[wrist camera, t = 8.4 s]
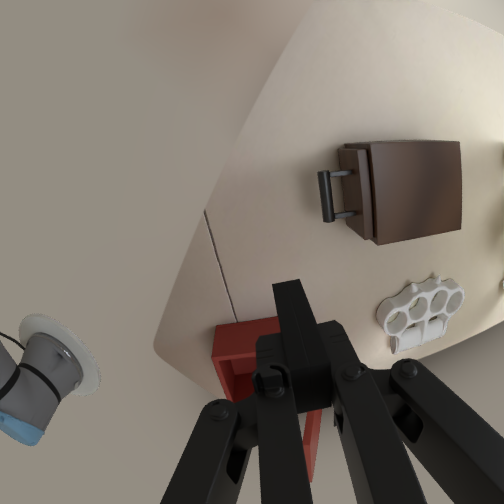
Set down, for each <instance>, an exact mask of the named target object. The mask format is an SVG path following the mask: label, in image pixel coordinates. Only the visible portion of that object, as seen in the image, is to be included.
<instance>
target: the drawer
mask: <svg viewBox="0 0 504 504" xmlns="http://www.w3.org/2000/svg"><path fill="white" fill-rule="evenodd" d="M338 153H339V160H340V168H341V170H339V171H331V172H329V170H323V171H318V172H317V175H318V182H319V190H320V198H321V206H322V215H323V222H326V223H329V222H333V221H335V219H338V218H344V217H346V225H347V226H349V227H350V228H351V229H352V230H353V231H355V232H356V233H357V234H358V235H359V236H361V237H362V238H363V239H364V240H368V239H373V224H374V207H373V193H372V181H371V171H370V162H369V154H368V152H367V151H366V149H357V148H343V149H338ZM337 176H342V184H343V194H344V204H345V212H338V213H334V208H333V198H332V190H331V181H330V177H337Z"/></svg>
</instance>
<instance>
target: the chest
mask: <svg viewBox="0 0 504 504" xmlns="http://www.w3.org/2000/svg"><path fill="white" fill-rule="evenodd" d="M278 332H281V331H280V326H279V320H278V316H277V317H271V318H264V319H258V320H252V321H245V322H238V323H231V324H224V325H217V326H216V331H215V337H214V343H213V350H212V356H211V358H212V361H213V363H214V366H215V369H216V372H217V374H218V377H219V380H220V382H221V385H222V387H223V390H224V393H225V395H226V398H227V400H230V401H232V402H233V403H235V402H238V401H241V400H243V399H245V398H247V397H249V396H250V395H251V394H252V393H253V392H254V391H255V390H254V386H253V383H252V380H251V377H252V373H253V372H254V371H255V370H256V368H257V367H256V348H255V343H256V341H257V339H258V337H259V336H261V335H267V334H273V333H278Z"/></svg>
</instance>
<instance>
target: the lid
mask: <svg viewBox="0 0 504 504" xmlns="http://www.w3.org/2000/svg"><path fill="white" fill-rule="evenodd" d="M321 414H322V409H319V410H314V411H310V412H307V417H306V424H305V430H304V436H303V441H302V442H303V448H304V453H305V459H306V465H307V471H308V476H309V482H312V478H313V473H314V466H315V460H316V454H317V446H318V439H319V432H320V423H321Z"/></svg>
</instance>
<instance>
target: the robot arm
mask: <svg viewBox="0 0 504 504" xmlns="http://www.w3.org/2000/svg"><path fill="white" fill-rule="evenodd" d="M272 287H273V293H274V298H275V304H276V309H277V315H278V320H279V326H280V331H281V332H278V333H273V334H267V335H261V336H259V337H258V339H257V341H256V343H255V348H256V367H257V368H256V370H255V371H254V372H253V373H252V377H251V380H252V383H253V386H254V390H255V391H254V392H253V393H252V394H251V395H250V396H249V397H247V398H245V399H243V400H241V401H238V402H235V403H233V402H232V401H230V400H226V399H217V400H214V401H211V402H210V403H208V404H207V405H205V407H204V408H203V410H202V411H201V413H200V416H199V418H198V420H197V423H196V425H195V427H194V430H193V432H192V434H191V436H190V439H189V441H188V443H187V446H186V448H185V450H184V452H183V454H182V456H181V459H180V461H179V463H178V465H177V468H176V470H175V472H174V474H173V476H172V478H171V481H170V483H169V485H168V487H167V490H166V492H165V494H164V496H163V498H162V500H161V503H160V504H236V502H237V499H238V495H239V492H240V489H241V486H242V482H243V479H244V475H245V471H246V468H247V465H248V461H249V457H250V454H251V450H252V448H253V447H255V446H257V445H258V447H259V448H258V449H259V468H260V487H261V504H313V501H312V494H311V488H310V482H309V476H308V471H307V465H306V459H305V453H304V448H303V442H302V437H301V431H300V425H299V420H298V415H297V414H299V413H304V412H310V411H314V410H319V409H323V408H328V407H331V406H332V404H333V407H334V426H337V429H338V432H339V436H340V440H341V443H342V446H343V450H344V454H345V458H346V461H347V465H348V469H349V473H350V477H351V480H352V484H353V488H354V492H355V496H356V500H357V504H427V502H426V499H425V496H424V494H423V491H422V488H421V486H420V483H419V481H418V478H417V476H416V473H415V471H414V468H413V466H412V463H411V461H410V458H409V456H408V454H407V451H406V449H405V446H404V444H403V442H404V443H405V445H406V446H407V447H408V448H409V449H410V451H411V452H412V453H413V454H414V455H415V457H416V458H417V459H418V460H419V461H420V463H421V464H422V465H423V466H424V468H425V469H426V470H427V471H428V472H429V473H430V475H431V476H432V477H433V478H434V480H435V481H436V482H437V483H438V484H439V486H440V487H441V488H442V489H443V490H444V492H445V493H446V494H447V495H448V496H449V497H450V499H451V500H452V501H453V502H454V504H504V438H503V437H502V436H500V435H499V433H498V432H496V431H495V430H494V429H493V428H492V427H491V426H490V425H489V424H488V423H487V422H486V421H485V420H484V419H483V418H482V417H480V416H479V415H478V414H477V413H476V412H475V411H474V410H473V409H472V408H471V407H470V406H468V405H467V404H466V403H465V402H464V401H463V400H462V399H461V398H459V396H457V395H456V394H455V393H454V392H453V391H452V390H451V389H450V388H449V387H447V386H446V385H445V384H444V383H443V382H442V381H441V380H440V379H438V378H437V377H436V376H435V375H434V374H433V373H431V372H430V371H429V370H428V369H427V368H426V367H425V366H423V365H422V364H421V363H420V362H418V361H417V360H414V359H410V358H408V359H401V360H399V361H397V362H396V363H394V364H393V366H392V368H391V369H385V370H374V369H370V368H368V367H367V366H366V365H365V364H363V363H361V362H360V360H359V358H358V356H357V354H356V352H355V350H354V348H353V346H352V344H351V342H350V340H349V338H348V336H347V334H346V332H345V330H344V328H343V326H342V325H341V324H340V323H338V322H337V321H335V320H333V321H328V322H324V323H319V324H317V323H316V320H315V317H314V315H313V312H312V310H311V307H310V304H309V302H308V299H307V297H306V294H305V292H304V289H303V287H302V284H301V282H300V279H296V280H291V281H286V282H281V283H276V284H272ZM0 335H1V336H3V337H6V338H7V339H9V340H11V341H13V342H15V343H16V344H18V346H19V347H21V348H22V349H23V350H24V353H23V357H22V359H21V362H20V363H19V365H18V366H17V364H16V363H15V361H14V360H13V359H12V357H11V356H10V354H9V353H8V352H7V350H6V349H5V348H4V346H3V344H2V343H1V341H0V429H1V430H2V431H3V432H4V433H6V434H7V435H9V436H10V437H12V438H13V439H15V440H17V441H18V442H20V443H22V444H25V445H28V446H34V445H36V444H37V443H38V441H39V440H40V438H41V437H42V435H43V434H44V431H45V430H46V428H47V426H48V424H49V422H50V420H51V418H52V416H53V414H54V413H55V411H56V409H57V407H58V405H59V403H60V402H61V400H62V399H63V398H64V397H65V396H67V395H68V394H69V393H70V392H71V391H73V390H75V389H77V388H78V387H79V386H80V384H81V382H82V380H83V376H84V375H83V370H82V367H81V365H80V363H79V361H78V360H77V358H76V357H75V355H74V354H73V353H72V352H71V351H70V350H69V349H68V348H67V347H66V346H65V345H64V344H63V343H62V342H61V341H59V340H58V339H56V338H55V337H53V336H51V335H49V334H46V333H43V332H37V333H34V334H33V335H32V336H31V337H30V338H29V340H28V342H27V344H26V348H25V347H23V346H22V345H21V344H20V343H19V342H18V341H16V340H15V339H13V338H11V337H9V336H7V335H5V334H3V333H1V332H0ZM402 441H403V442H402Z"/></svg>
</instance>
